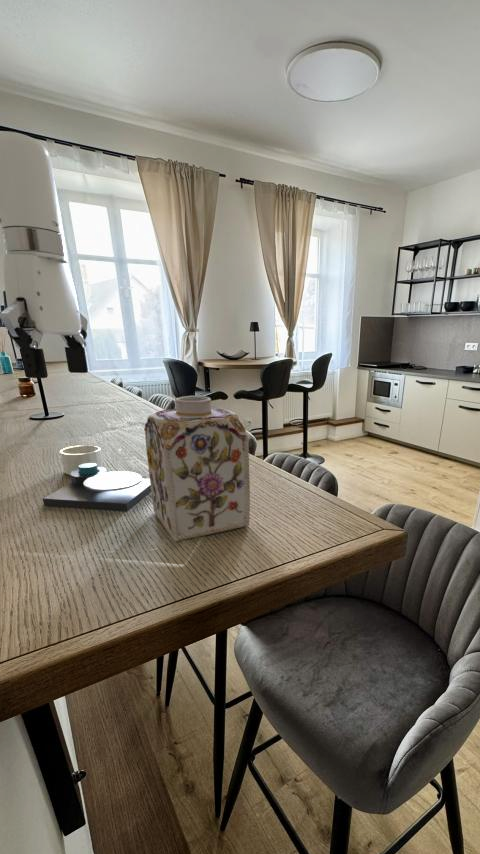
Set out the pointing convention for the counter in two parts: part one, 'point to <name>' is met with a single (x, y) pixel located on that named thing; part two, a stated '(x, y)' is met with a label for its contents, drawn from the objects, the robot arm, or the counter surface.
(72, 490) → the scale
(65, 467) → the bowl
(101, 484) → the scale pan
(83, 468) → the tare button
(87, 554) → the counter surface
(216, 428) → the decorative jar
